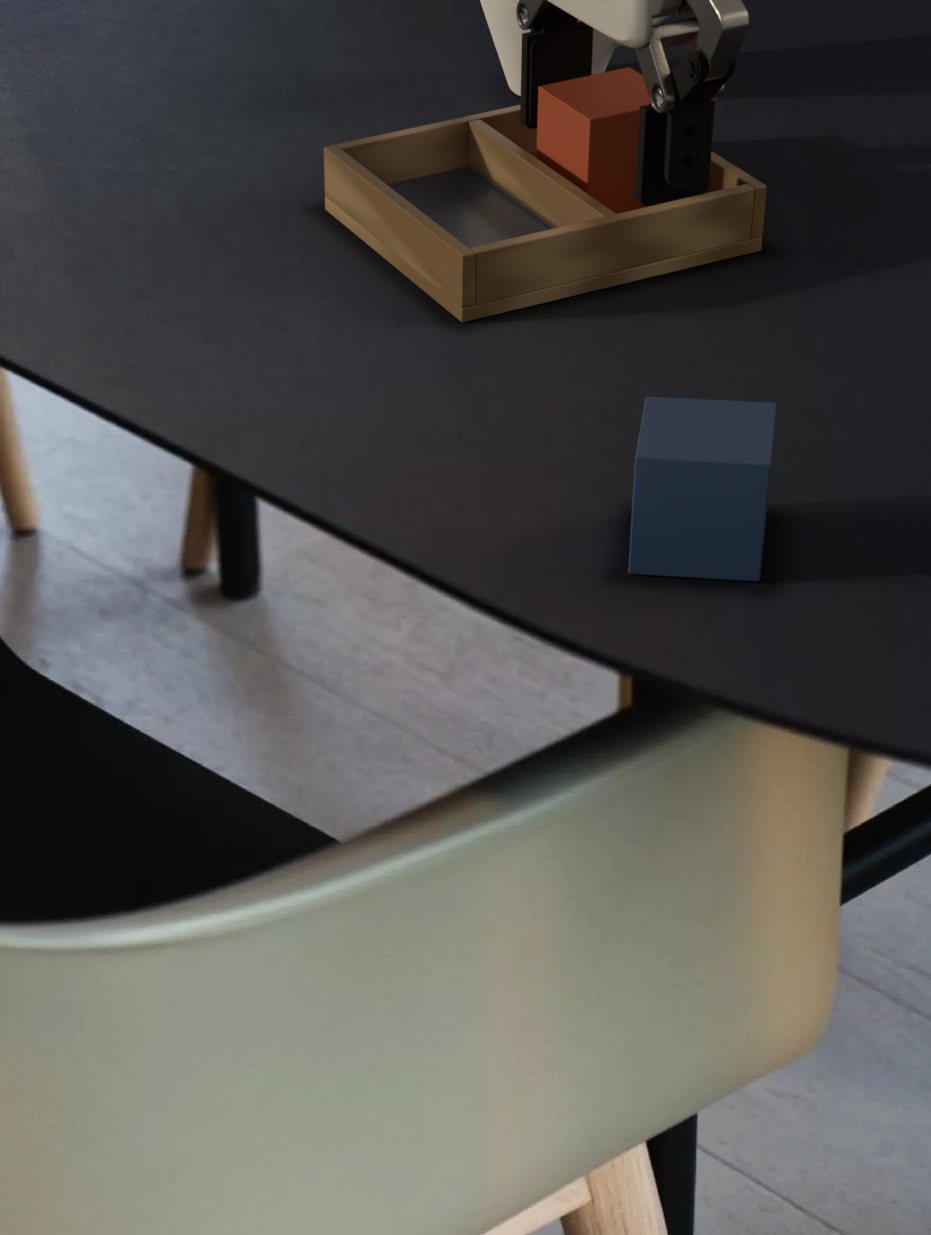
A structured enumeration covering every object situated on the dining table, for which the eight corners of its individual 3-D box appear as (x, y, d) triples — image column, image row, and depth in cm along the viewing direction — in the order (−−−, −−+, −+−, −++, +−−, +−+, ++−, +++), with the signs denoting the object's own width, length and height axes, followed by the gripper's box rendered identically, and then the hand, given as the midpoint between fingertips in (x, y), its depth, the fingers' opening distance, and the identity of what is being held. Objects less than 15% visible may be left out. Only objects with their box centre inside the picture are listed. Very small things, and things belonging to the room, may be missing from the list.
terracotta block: (535, 188, 108) (538, 86, 105) (623, 168, 109) (629, 66, 106) (585, 224, 105) (590, 120, 102) (676, 203, 106) (683, 99, 103)
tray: (604, 147, 113) (607, 85, 111) (761, 251, 104) (767, 185, 102) (324, 209, 109) (322, 146, 108) (461, 323, 100) (462, 256, 98)
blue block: (627, 574, 85) (634, 457, 82) (638, 510, 88) (645, 395, 85) (759, 582, 84) (771, 464, 81) (765, 518, 87) (776, 402, 84)
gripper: (845, -252, 90) (800, 211, 101) (603, -343, 102) (587, 78, 113) (664, -219, 88) (638, 250, 99) (439, -316, 100) (439, 110, 111)
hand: (611, 158), depth 106 cm, fingers open, 9 cm apart
